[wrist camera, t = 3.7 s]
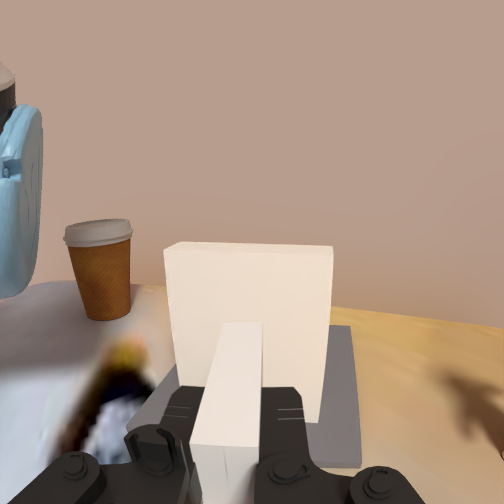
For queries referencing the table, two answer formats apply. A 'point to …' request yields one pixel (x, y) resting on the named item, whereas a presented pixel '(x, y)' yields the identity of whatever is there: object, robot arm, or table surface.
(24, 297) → the table surface
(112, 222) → the disposable coffee cup
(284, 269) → the tile
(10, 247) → the robot arm
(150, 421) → the mat
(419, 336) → the table surface
